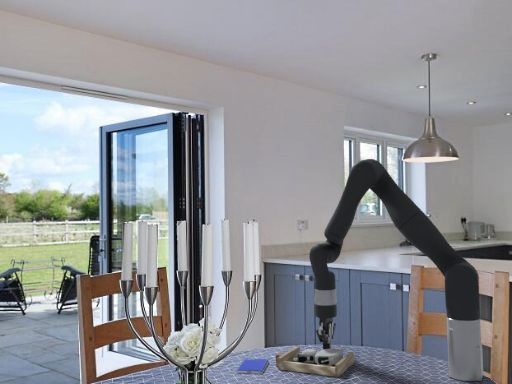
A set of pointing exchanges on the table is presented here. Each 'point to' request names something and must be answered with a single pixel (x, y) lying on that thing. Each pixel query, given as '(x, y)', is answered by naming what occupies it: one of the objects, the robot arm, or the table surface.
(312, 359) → the robot toy
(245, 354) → the table surface
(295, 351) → the wooden tray
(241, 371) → the hard drive
